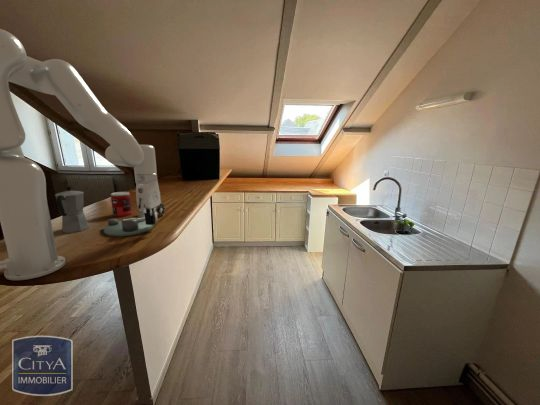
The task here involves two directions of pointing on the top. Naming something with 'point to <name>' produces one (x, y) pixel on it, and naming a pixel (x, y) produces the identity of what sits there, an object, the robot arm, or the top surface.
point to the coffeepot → (72, 210)
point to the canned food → (121, 204)
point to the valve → (158, 209)
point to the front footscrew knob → (132, 223)
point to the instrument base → (116, 230)
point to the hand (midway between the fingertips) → (150, 224)
